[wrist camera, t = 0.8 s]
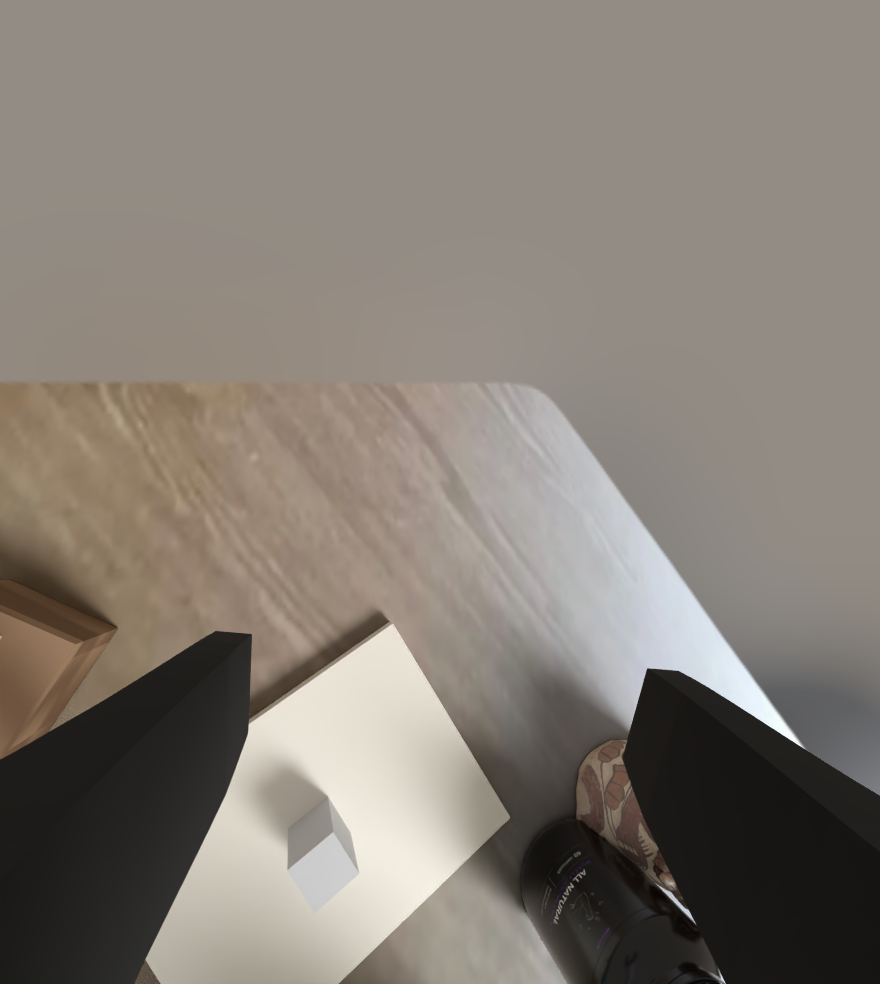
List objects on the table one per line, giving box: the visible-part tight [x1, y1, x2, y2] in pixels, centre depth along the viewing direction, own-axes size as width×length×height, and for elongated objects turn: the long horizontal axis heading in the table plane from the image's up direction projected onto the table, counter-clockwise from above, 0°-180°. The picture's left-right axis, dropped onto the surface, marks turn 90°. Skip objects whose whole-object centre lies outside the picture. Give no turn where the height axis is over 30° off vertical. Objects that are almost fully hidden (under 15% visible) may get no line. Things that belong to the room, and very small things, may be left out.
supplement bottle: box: [521, 819, 725, 984], centre depth 24 cm, size 7×7×12 cm
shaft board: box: [145, 621, 510, 984], centre depth 24 cm, size 18×14×4 cm
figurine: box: [576, 740, 689, 910], centre depth 26 cm, size 7×7×12 cm
